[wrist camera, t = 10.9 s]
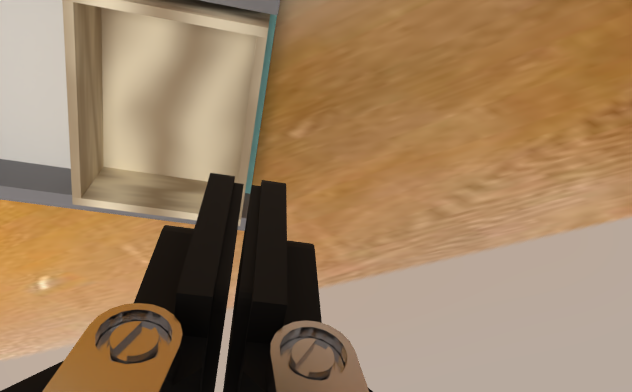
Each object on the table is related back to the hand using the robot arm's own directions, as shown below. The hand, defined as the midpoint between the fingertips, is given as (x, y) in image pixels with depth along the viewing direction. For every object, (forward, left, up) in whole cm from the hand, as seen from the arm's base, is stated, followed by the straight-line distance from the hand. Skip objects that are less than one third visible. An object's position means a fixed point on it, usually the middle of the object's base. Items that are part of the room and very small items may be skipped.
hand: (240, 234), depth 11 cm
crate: (+6, +7, -28) cm, 29 cm away
